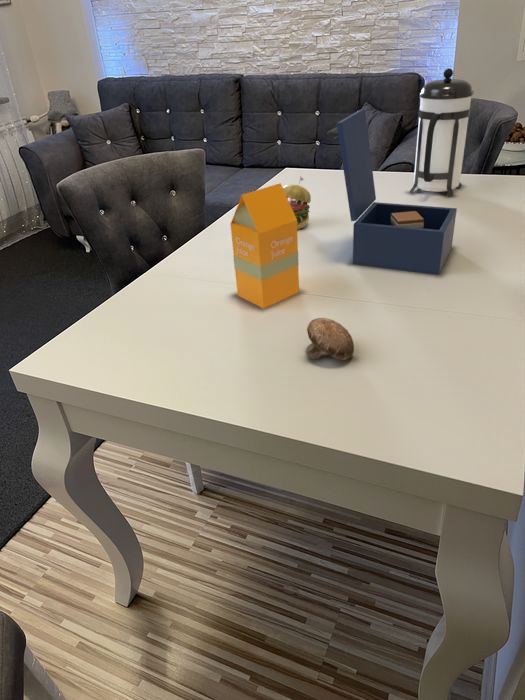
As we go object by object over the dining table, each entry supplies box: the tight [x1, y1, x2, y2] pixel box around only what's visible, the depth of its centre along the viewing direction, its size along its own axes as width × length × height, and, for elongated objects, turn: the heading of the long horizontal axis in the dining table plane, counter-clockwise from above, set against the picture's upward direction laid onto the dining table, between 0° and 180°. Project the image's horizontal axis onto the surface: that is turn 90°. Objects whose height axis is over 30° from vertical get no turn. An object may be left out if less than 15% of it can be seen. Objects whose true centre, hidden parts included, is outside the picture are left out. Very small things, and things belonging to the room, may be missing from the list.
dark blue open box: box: [352, 201, 457, 276], centre depth 108 cm, size 17×14×9 cm
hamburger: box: [282, 175, 312, 231], centre depth 126 cm, size 8×7×12 cm
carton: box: [391, 211, 424, 228], centre depth 107 cm, size 5×5×8 cm
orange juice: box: [230, 183, 300, 309], centre depth 94 cm, size 8×9×20 cm
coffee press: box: [409, 68, 474, 198], centre depth 137 cm, size 17×16×30 cm
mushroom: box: [306, 317, 355, 361], centre depth 80 cm, size 8×8×6 cm
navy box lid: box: [326, 108, 377, 222], centre depth 105 cm, size 18×14×5 cm
